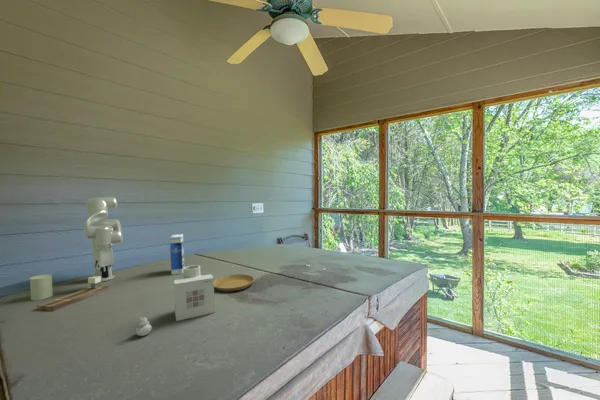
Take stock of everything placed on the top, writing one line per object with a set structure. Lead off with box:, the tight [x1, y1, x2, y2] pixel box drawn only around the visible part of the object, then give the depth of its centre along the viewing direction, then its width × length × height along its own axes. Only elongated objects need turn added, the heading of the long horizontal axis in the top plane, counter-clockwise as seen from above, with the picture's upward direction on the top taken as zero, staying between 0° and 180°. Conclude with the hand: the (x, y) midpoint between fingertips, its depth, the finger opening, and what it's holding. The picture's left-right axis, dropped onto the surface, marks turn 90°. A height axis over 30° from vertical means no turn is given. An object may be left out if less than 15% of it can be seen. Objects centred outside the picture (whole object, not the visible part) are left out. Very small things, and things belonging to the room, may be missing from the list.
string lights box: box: [169, 233, 186, 275], centre depth 196 cm, size 13×8×26 cm, turn 17°
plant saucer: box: [214, 273, 255, 293], centre depth 164 cm, size 24×24×3 cm
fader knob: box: [87, 275, 102, 288], centre depth 160 cm, size 5×4×6 cm
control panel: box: [173, 264, 216, 322], centre depth 131 cm, size 16×19×20 cm
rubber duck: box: [135, 315, 153, 337], centre depth 109 cm, size 5×7×8 cm
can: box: [29, 273, 54, 301], centre depth 153 cm, size 9×9×12 cm
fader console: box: [36, 284, 109, 312], centre depth 150 cm, size 10×30×2 cm, turn 168°
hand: (105, 277), depth 167 cm, fingers closed
